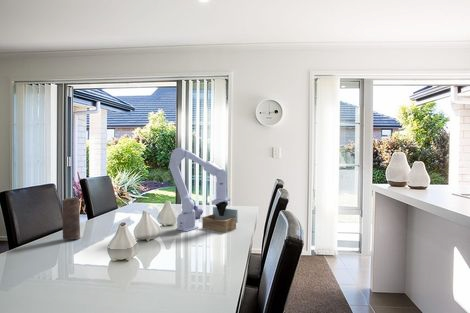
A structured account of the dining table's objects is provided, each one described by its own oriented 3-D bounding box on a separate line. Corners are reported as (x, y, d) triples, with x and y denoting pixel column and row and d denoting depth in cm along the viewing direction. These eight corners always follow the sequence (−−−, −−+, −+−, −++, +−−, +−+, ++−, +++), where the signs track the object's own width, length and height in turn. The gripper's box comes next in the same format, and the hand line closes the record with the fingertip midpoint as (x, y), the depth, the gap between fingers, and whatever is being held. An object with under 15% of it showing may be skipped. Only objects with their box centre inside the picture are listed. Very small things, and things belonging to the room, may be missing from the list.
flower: (199, 209, 184) (198, 200, 193) (186, 215, 184) (185, 205, 193) (205, 220, 189) (204, 210, 197) (193, 226, 189) (192, 216, 198)
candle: (72, 242, 143) (71, 199, 142) (58, 241, 144) (57, 198, 144) (83, 237, 150) (82, 196, 150) (70, 236, 152) (69, 196, 151)
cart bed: (226, 232, 158) (226, 220, 158) (202, 228, 167) (202, 217, 167) (236, 228, 166) (235, 217, 165) (212, 224, 175) (212, 214, 174)
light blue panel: (236, 223, 166) (236, 210, 166) (212, 219, 175) (212, 207, 175) (237, 222, 167) (237, 209, 167) (214, 219, 176) (214, 206, 176)
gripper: (219, 193, 159) (219, 219, 160) (234, 190, 171) (235, 214, 172) (208, 192, 163) (208, 217, 164) (224, 189, 175) (224, 212, 176)
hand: (221, 215), depth 168 cm, fingers closed
